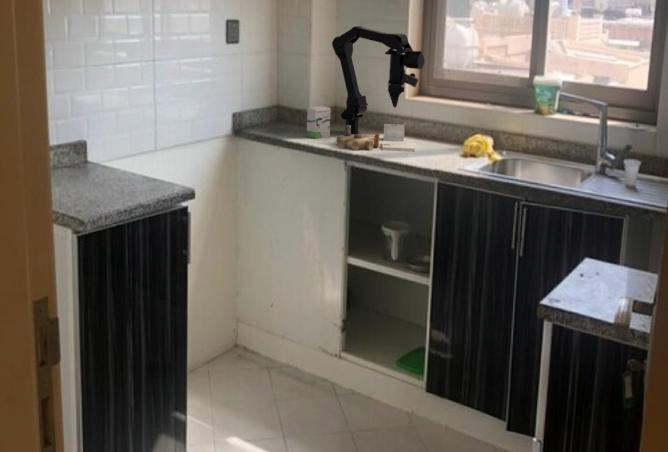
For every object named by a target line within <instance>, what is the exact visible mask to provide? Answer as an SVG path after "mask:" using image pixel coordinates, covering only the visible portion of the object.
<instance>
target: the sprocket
mask: <svg viewBox="0 0 668 452" xmlns="http://www.w3.org/2000/svg"><path fill="white" fill-rule="evenodd" d="M344 130H345V131H344ZM344 130H343V132H344V134H343V133H342V135H337V136H336V143H335V145H337V146H338V148H341V149H344V148H346V149H351V150H353V151H354V150H356V151H358V150H373V149H374V148H379V146H380V133H379V132H377V133H376V132H375V133H374V135H373V134H372V135H367V134H363V133H359V134H351V125H345V124H344Z"/></svg>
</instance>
